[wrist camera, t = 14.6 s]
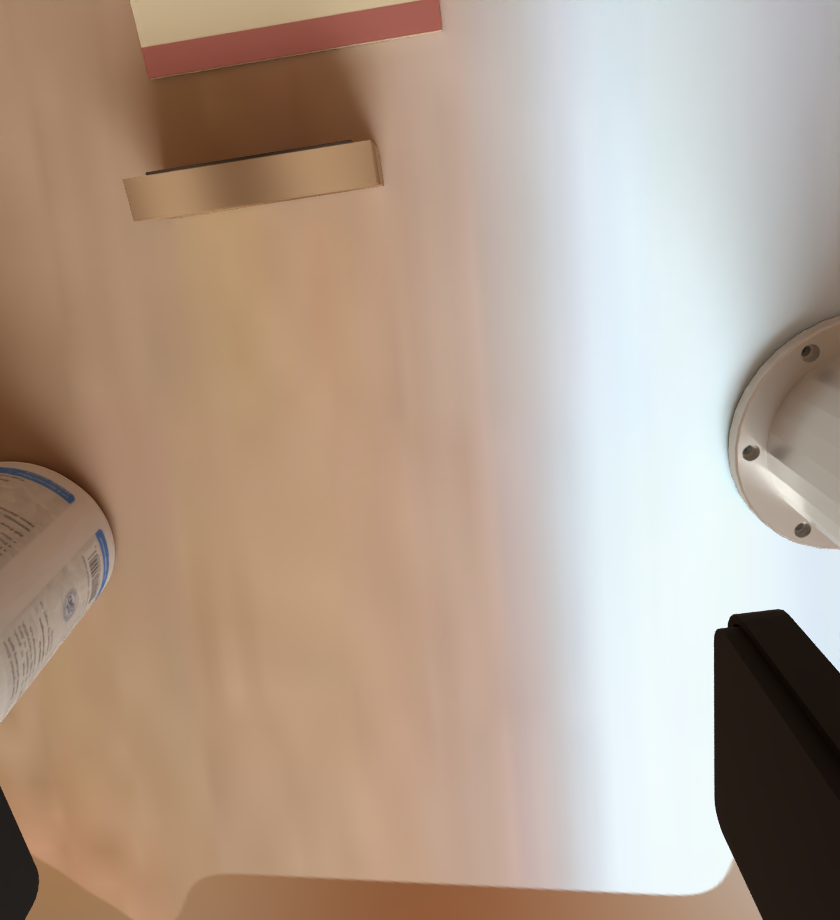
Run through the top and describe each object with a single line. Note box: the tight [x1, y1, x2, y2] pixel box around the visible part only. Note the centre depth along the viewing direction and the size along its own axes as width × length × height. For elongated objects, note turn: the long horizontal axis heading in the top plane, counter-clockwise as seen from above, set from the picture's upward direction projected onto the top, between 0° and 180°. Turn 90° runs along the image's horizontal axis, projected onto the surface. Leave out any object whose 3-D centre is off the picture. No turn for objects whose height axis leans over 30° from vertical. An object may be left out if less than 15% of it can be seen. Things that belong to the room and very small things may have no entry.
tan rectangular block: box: [123, 140, 384, 221], centre depth 31 cm, size 10×2×5 cm, turn 98°
